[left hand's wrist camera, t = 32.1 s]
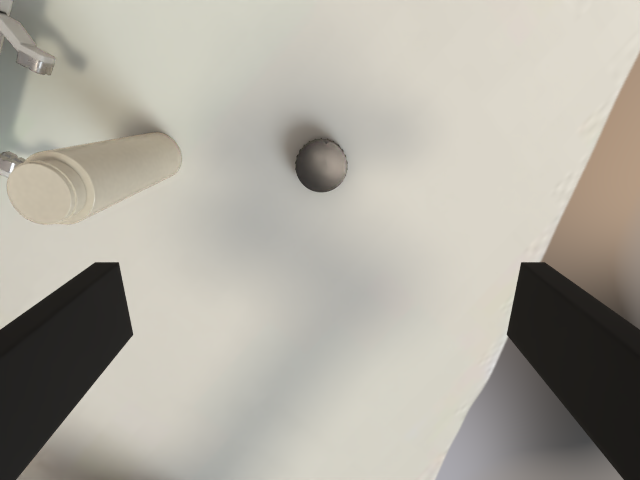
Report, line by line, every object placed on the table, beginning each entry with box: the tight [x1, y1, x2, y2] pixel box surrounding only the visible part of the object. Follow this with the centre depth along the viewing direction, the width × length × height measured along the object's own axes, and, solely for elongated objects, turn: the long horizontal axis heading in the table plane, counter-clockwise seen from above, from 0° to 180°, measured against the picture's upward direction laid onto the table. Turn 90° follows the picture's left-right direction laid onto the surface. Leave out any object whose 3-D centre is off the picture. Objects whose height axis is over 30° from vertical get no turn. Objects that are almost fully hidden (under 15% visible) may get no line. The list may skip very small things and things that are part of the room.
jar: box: [7, 132, 182, 225], centre depth 30 cm, size 5×5×18 cm
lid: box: [295, 138, 348, 192], centre depth 38 cm, size 5×5×2 cm
